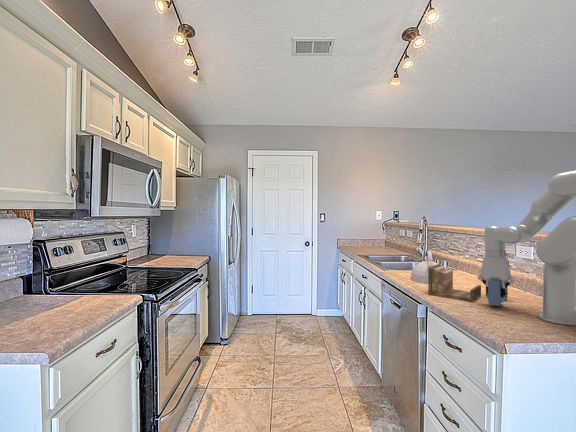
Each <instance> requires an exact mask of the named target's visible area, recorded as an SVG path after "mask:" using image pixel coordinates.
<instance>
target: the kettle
mask: <svg viewBox="0 0 576 432" xmlns="http://www.w3.org/2000/svg"><path fill="white" fill-rule="evenodd" d="M425 257H427V260H425V261H424V260H423V261H421V262H419V263H417V264H415V266H414V267H413V268H412V270H411V273H410V280H411V281H413V282H416V283H421V284H427V285H428V269H429V267H431V266H434V265H437V264H438V263H437V262H435V261H433V254H432V251H431V250H426V251H425Z"/></svg>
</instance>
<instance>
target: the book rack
mask: <svg viewBox="0 0 576 432" xmlns="http://www.w3.org/2000/svg"><path fill="white" fill-rule="evenodd" d="M453 272H454V270H453V269H446V267H445V266H443V265H441V264H440V263H437V265H434V266H431V267H429V269H428V284H427V285H428V287H427V288H428V290H427V292H428V293H427V295H429V296H434V297H441V298H445V299H453V300H458V301H463V302H469V303H474V302H476V301H477V300H478V299H479V298H481V297H482V285H480V284H477V285H476V286H474V287H472V288H471V289H470V291H467V290H461V289H454V287H453V286H454V280H453V279H454V273H453Z"/></svg>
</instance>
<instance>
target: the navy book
mask: <svg viewBox="0 0 576 432" xmlns="http://www.w3.org/2000/svg"><path fill="white" fill-rule="evenodd" d="M501 287H502V285H501V281H498V280H488V296H487V297H488V299H487V301H488V305H493V306H498V307H499V306H501V305H502V304H503V302H505V301H504V297H503V298H501Z"/></svg>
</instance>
